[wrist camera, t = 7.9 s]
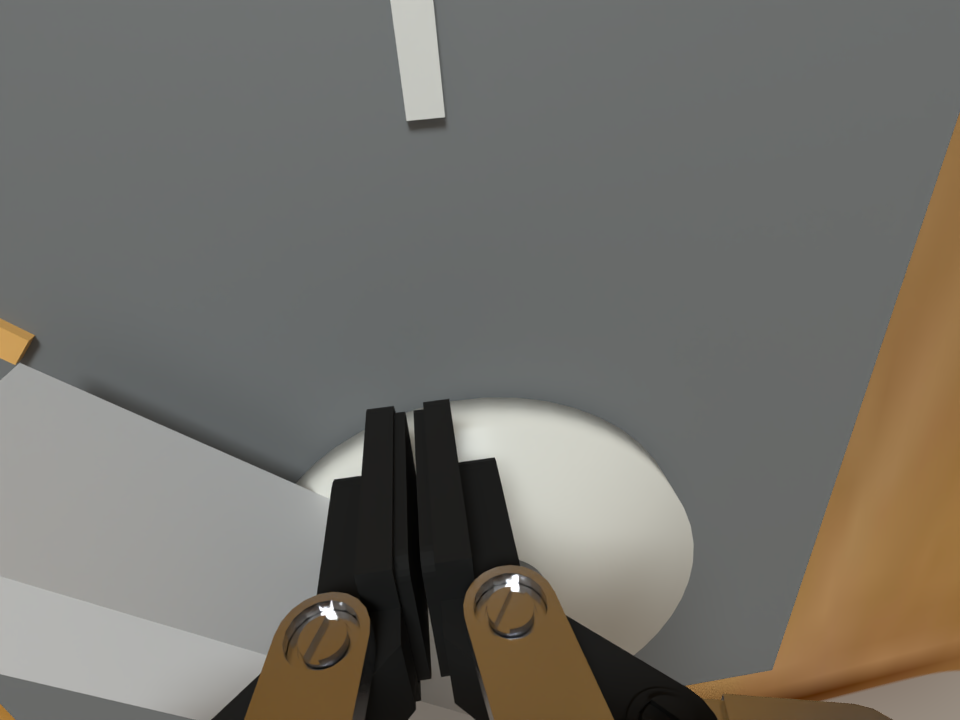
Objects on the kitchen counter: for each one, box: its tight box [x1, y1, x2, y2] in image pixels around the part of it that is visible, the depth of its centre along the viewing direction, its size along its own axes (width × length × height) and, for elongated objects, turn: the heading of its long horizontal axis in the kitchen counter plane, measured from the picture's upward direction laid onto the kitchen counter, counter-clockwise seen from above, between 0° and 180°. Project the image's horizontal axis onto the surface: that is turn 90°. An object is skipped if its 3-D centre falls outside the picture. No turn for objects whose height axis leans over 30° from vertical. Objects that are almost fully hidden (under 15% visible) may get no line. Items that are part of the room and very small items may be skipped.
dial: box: [0, 363, 694, 720], centre depth 13 cm, size 18×12×5 cm, turn 52°
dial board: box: [0, 0, 960, 720], centre depth 16 cm, size 26×24×2 cm
